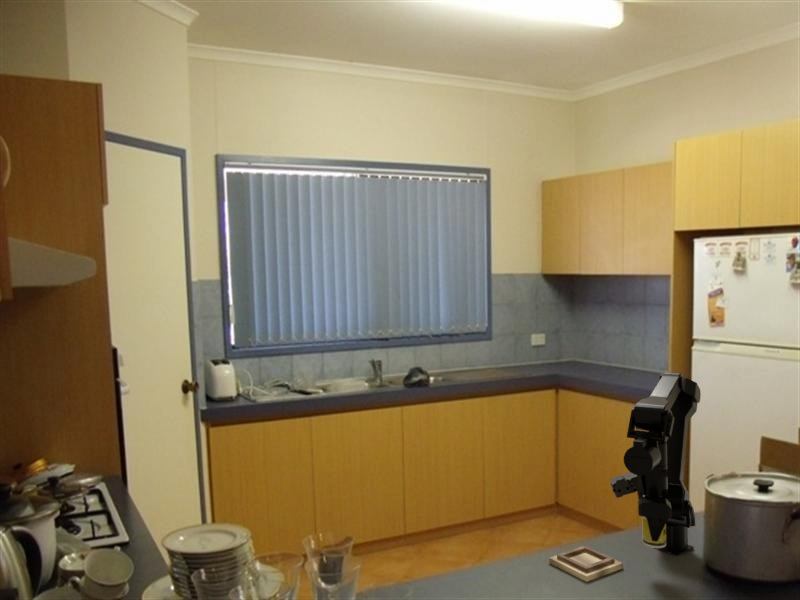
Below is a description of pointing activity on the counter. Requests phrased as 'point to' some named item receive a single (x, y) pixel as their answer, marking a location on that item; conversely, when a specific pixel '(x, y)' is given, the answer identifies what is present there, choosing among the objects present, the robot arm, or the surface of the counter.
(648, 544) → the supplement bottle
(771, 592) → the counter surface
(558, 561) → the coaster board
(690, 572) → the counter surface
